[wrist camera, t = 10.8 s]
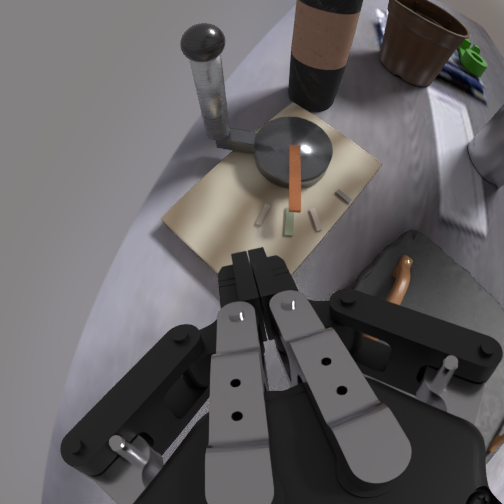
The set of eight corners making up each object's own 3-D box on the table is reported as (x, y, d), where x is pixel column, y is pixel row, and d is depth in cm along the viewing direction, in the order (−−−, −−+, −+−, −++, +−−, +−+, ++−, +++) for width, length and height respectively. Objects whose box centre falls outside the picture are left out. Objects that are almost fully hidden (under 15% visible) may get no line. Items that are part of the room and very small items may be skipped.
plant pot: (354, 43, 44) (370, -17, 28) (409, 47, 45) (430, -3, 29) (398, 94, 40) (431, 27, 24) (451, 95, 41) (484, 43, 25)
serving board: (285, 378, 29) (292, 388, 23) (386, 218, 34) (408, 197, 28) (471, 476, 22) (493, 487, 16) (532, 353, 27) (556, 352, 21)
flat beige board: (376, 171, 35) (383, 163, 33) (259, 311, 31) (259, 310, 28) (291, 111, 38) (293, 100, 36) (165, 224, 33) (159, 217, 31)
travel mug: (304, 118, 38) (327, -2, 18) (277, 88, 39) (284, -23, 20) (344, 105, 38) (378, -1, 19) (316, 77, 40) (335, -24, 21)
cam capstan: (331, 224, 31) (396, 122, 14) (193, 216, 31) (139, 108, 15) (325, 132, 34) (358, 23, 18) (208, 126, 35) (185, 14, 18)
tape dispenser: (482, 81, 44) (489, 70, 40) (461, 66, 45) (468, 55, 41) (475, 58, 48) (481, 48, 43) (456, 45, 49) (461, 35, 44)
